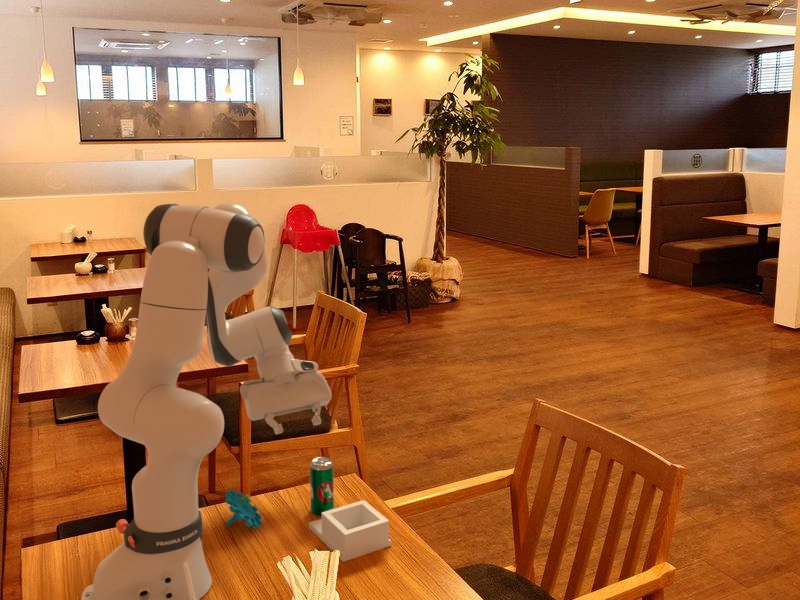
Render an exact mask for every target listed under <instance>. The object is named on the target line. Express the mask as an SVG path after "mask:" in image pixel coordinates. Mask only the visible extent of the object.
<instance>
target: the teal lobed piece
mask: <svg viewBox="0 0 800 600" xmlns="http://www.w3.org/2000/svg"><path fill="white" fill-rule="evenodd" d="M224 496H225V497H226V498H225V503H226V504H227V505H229V507H228V509H229V511H230V512H231V513H232V514H233V515H232V517H230V519H228V521H226V522H225V524H226V526H227V527H229V528H231V526H232V525H233V524H234V523H235V521H237V520H238V521H240V522H241V521H242V520H243V519H244V520H246V521H245V522H244V525H245V526H247V527H248V528H249V527H251V526H252V528H253V529H255V530H257V529H258V528H259V527H260V526H261V525H262V524H263V521H262V519H263V518H262V517H263V516H262V514H261V513H259V512H258V510H259V509H258V507H257V506H256V505H253V504H252V500H251V496H250V495H249V494H246V495H244V494H243V493H242V492H241V491H238V492H237V491H236V490H235V489H230V490H229V491H227V492H226V493H225V494H224Z"/></svg>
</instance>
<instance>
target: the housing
mask: <svg viewBox="0 0 800 600" xmlns="http://www.w3.org/2000/svg"><path fill="white" fill-rule="evenodd" d="M320 517H321V518H319V519H315V520H313V521H309V522H308V528H309V529H310V530H311V531H312V532H313V534H314V535H316V537H318V538H319V539H320V540H321V541H322V542H323V544H325V545H326V546H327V548H329V549H330V551H332V550H339V551H340V558H339V560H341V561H342V563H344V562H347V561H349V560H353V559H356V558H359V557H362V556H364V555H367V554H370V553H371V554H372V553H374V552H376V551H379V550H382V549H384V548H388V547H391V546H392V540H391V539H390V520H389V519H388V518H386V516H384V515H383V514H381V513H380V512H379V511H378V510H377V509H376V508H374V507H373V506H372V505H371V504H369V503H368V502H367V501H366V500H365V499H362V500H360V501H355V502H352V503H350V504H346V505H342V506H337V507H336V506H334V508H331V509H330V510H329V511H325V512H322V513H321V516H320Z"/></svg>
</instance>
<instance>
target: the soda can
mask: <svg viewBox="0 0 800 600" xmlns="http://www.w3.org/2000/svg"><path fill="white" fill-rule="evenodd" d="M334 474H335V473H334V464H333V462H332V459H331V458H329V457H327V456H317V457H314V458H313V459H312V460H311V463H310V465H309V485H310V486H309V490H310V492H309V493H310V495H309V496H310V497H309V498H310V512H311V513H312V514H313V515H315V516H316V517H321V513H322V512H325V511H329V510H330V509H331V508H335V493H334V492H335V490H334V485H335V484H334V483H335V482H334V481H335V480H334V477H335V476H334Z"/></svg>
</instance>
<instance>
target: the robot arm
mask: <svg viewBox="0 0 800 600" xmlns="http://www.w3.org/2000/svg"><path fill="white" fill-rule="evenodd" d="M142 230H143V235H142V236H143V241H144V244H145V247H146V250H147V251H148V254H149V256H150V258H149V261H148V264H147V267H146V270H145V276H144V278H143V283H142V288H141V289H142V290H141V294H140V300H139V302H140V303H139V311H138V317H137V324H136V330H135V331H136V332H135V338H134V341H133V346H132V349H131V353H130V356H129V357H128V360H127V362H126V364H125V366H124V368H123V370H122V371H121V373H120V374H119V375H118V376H117V377H116V378H115V379H113V380H112V381H110V382H109V383H108V384H107V385H106V386H104V387H105V388H103V390H102V391H101V394H100V396H99V399H98V403H97V412H98V413H97V414H98V417H99V420H100V421H101V422H102V424H104V426H106V427H107V428H108V429H110V430H111V431H112V432H114V433H115V434H116V435H118V436H119V437H122V438H124V439H127V440H130V441H133V442H136V443H138V444H141V445H143V446H145V448H146V450H147V453H148V454H147V455H148V457H147V465H145V466H143V467H142V468H140V470H139V471H138V472H137V473H136V474H135V476H133V479H132V482H131V483H132V484H131V492H132V493H131V494H132V506H133V516H134V517H133V519H132V520H131V522H130V523H128V521H127V520H126V519H125V518H121V519H119V520H118V521H117V522H116V523H115V527H116V529H117V531H118V532H119V534H122V535H123V542H122V543H120V544H119V545H118V546H117V547H116V548H115V549H114V550H113V551H112V552H110V553H109V554H108V555H107V556H106V557H105V558H104V559H103V560H101V561H100V562H99V563H98V564H97V566H96V568H95V569H96V570H95V573H94V576H93V577H94V578H93V583H92V584H90V585H87V586H86V587H85V588H84V590H83V591H82V594H81V597H80V600H201V598H203V597H204V596H205V595H206V594H207V593H208V591H209V590H210V588H211V587H212V583H213V578H212V575H211V572H210V570H209V568H208V564H207V562H206V561H207V560H206V557H205V554H204V553H205V552H204V547H203V542H202V541H203V535H204V534H203V533H204V524H203V523H204V522H203V516H202V512H201V511H200V509H199V488H198V485H199V484H198V483H199V481H198V477H199V472H200V466H201V464H202V461H203V459H204V458H205V457H206V456H207V455H208V454H210V453H211V452H213V450H215V448H216V447H217V446H218V445H219V443H220V442H221V439H222V436H224V435H223V434H224V430H225V418H224V417H225V416H224V413H223V411H222V409H221V407H220V406H218V405H217V404H216V403H214V402H213V401H212V400H210V399H208V397H205V396H203V395H202V394H201V393H198V392H196V391H191V390H188V389H184V388H181V387H178V386H177V381H178V377H179V375H180V373H181V371H182V369H183V367H184V366H185V364H186V363H189V362H191V361H193V360H194V359H196V358H197V357H198V356H199V354H200V352H201V350H202V346H203V342H204V341H203V339H204V332H205V323H206V332H207V333H206V335H207V336H206V345H207V349H208V351H209V354H210V357H211V358H212V359H213V361H214V362H215V363H217V364H220V365H222V366H226V367H232V366H234V365H236V364H238V363H240V362H242V361H244V360H248V359H249V358H252V357H253V358H254V359H255V361H256V368H257V373H258V375H259V377H260V378H256V379H253V380H252V379H251V380H245V381H243V383H241V385H240V386H239V393H240V395H241V397H242V399H243V400H244V406H245V412H246V415H247V418H248V419H249V420H251V421H253V422H255V421H259V420H263V419H264V420H265V423H266V424H268V426H269V427H271V428H272V430H273V431H274V434H275V435H279V434H282V433H284V428H283V425H282V423H278V422H277V421H276V420H275V419H274V418H275V417H276V416H277V417H278V416H282V415H287V414H291V413H295V412H300V411H301V412H302V411H305V410H311V411H312V412H313V413H314V415H313V416H312V417H311V423H312V425H313V426H319V425H321V423H322V418H321V410H322V407H324V406H328V404H329V403H330V402H331V400H332V397H333V395H332V394H333V393H332V391H331V388H330V386H329V384H328V381H327V380H326V377H325V376H324V375H323V374H322V373H321V372H319V371H318V370H319V365H318V363H317V362H315V361H309V360H303V359H296V358H295V357H294V355H293V353H292V352H291V351H290V348H289V345H290V343H291V340H292V337H293V333H292V332H293V331H292V330H291V329H290V327H289V325H288V320H287V317H286V314H285V312H284V311H283V310H281V309H280V308H277V307H276V306H272V305H269V306H265V307H261V308H259V309H256V310H252V311H251V312H248V313H246V314H242V315H239V316H236V317H234V318H230V319H226V314H225V313H226V308H228V306H229V305H230V304H231V303H233V302H234V301H235V300H237V299H238V298H240V297H242V296H243V295H245V294H247V293H249V292H250V291H252V290H253V289H255V288H256V287H257V286H258V285H259V284H260V283H261V282H262V281H263V279H264V278H265V276H266V274H267V270H268V257H267V256H268V255H267V252H266V246H265V238H266V237H265V231H264V228H263V226H262V225H261V224H260V222H259V221H258V220H257V218H255V217H253V216H251V214H250V212H249V211H248V210H247V209H246V208H245V207H243V206H241V205H240V204H238V203H232V202H229V203H228V202H227V203H222V204H221V203H220V204H218V205H216V206H214V207H209V206H207V205H206V206H204V205H190V204H187V205H182V204H181V205H180V204H178V203H164V204H160V205H156V206H155V207H154V208H153V209H152V210H151V211H150V212H149V213H148V215H147V217H146V218H145V222H144V224H143V229H142Z"/></svg>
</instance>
